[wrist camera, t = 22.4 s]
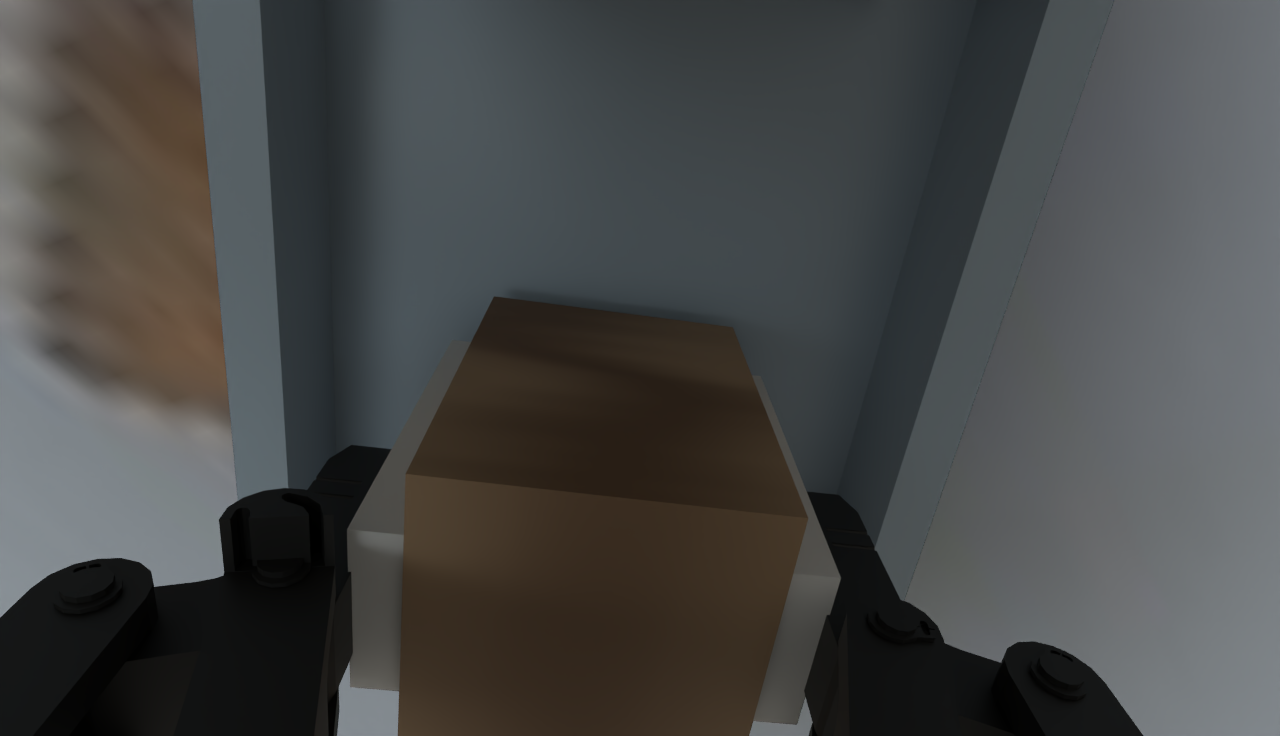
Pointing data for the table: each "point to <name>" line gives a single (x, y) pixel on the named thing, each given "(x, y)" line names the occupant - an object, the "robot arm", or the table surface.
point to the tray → (635, 205)
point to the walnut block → (594, 533)
